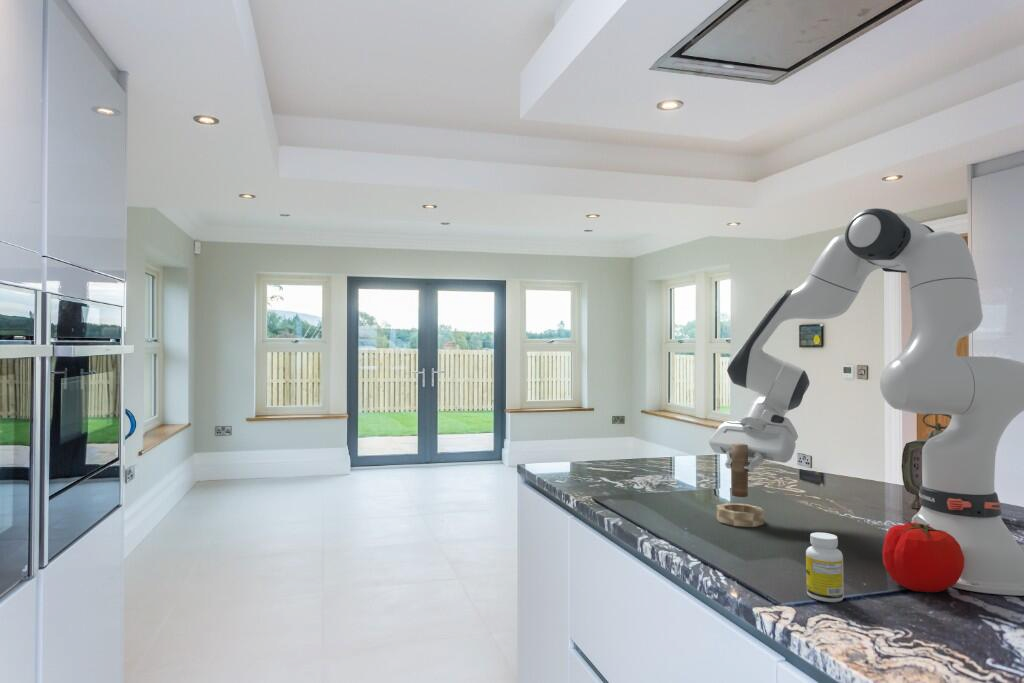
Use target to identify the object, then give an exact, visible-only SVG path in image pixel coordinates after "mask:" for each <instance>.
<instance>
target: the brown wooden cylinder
mask: <svg viewBox="0 0 1024 683" xmlns="http://www.w3.org/2000/svg"><path fill="white" fill-rule="evenodd" d="M746 462H749V457H748V445H747V444H732V469H731V496H733V497H738V498H747V497H749V472H747V471H746V470H745V469H744V466H745V465H746Z"/></svg>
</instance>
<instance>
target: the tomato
mask: <svg viewBox="0 0 1024 683" xmlns="http://www.w3.org/2000/svg"><path fill="white" fill-rule="evenodd" d="M902 519H903V520H904V521H906V522H907V523H904V524H898V525H896V524H895V525H893V526H891V527H890V528H889V530H887V533H885V536H884V542H883V546H882V554H881V555H882V564H883V566H884V567H885V570H886V572H887V573H888V574H889V575H888V576H890V578H891V579H892V580H893V581H894V582H895V583H896V584H897V585H900V586H901V587H903V588H905V589H909V590H910V591H913V592H919V593H920V592H922V593H939V592H942V591H945V590H947V589H949V588H953V587H952V586H953V585H954V584H956V582H957V581H958V580H959V578H960V576H961V574H962V571H963V568H964V556H963V553H962V550H961V547H960V545H959V543H958V542H957V541H956V540H955V538H954V537H953V536H951V535H950V534H948V533H947V532H944V531H942V530H936V529H934V528H932V527H930V526H928V525H929V524H928V525H924V524H919V523H915V522H914V523H912V522H910V521H909V520H907V519H906V518H903V517H902ZM948 532H949V531H948Z"/></svg>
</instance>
